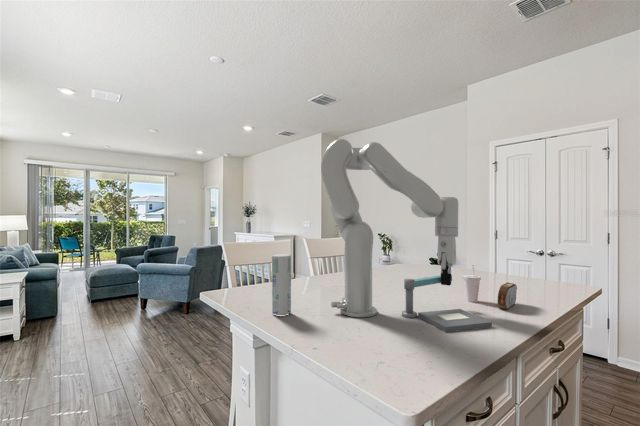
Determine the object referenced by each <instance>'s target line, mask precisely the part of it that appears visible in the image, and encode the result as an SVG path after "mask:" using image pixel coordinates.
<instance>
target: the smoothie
mask: <svg viewBox="0 0 640 426" xmlns="http://www.w3.org/2000/svg"><path fill="white" fill-rule="evenodd" d="M471 267H472V271H471V272H472V273H471V274H463V275H462V279H463V283H464V290H465V297H466V301H467V302H468V303H478V300H479V292H480V290H479V289H480V282H481V280H482V277H481V276H479V275H475V265H474V264H472V266H471Z"/></svg>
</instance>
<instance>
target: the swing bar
mask: <svg viewBox="0 0 640 426" xmlns="http://www.w3.org/2000/svg"><path fill="white" fill-rule="evenodd" d="M452 281H453V275H452V274H451V282H452ZM403 282H404V286H403V287H404V290H406V289H407V290H413V291H414V290H415V288H419V287H424V286H429V285H436V284H441V274H439V275H434V276H428V277H427V276H425V277H420V278H404V280H403Z"/></svg>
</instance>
